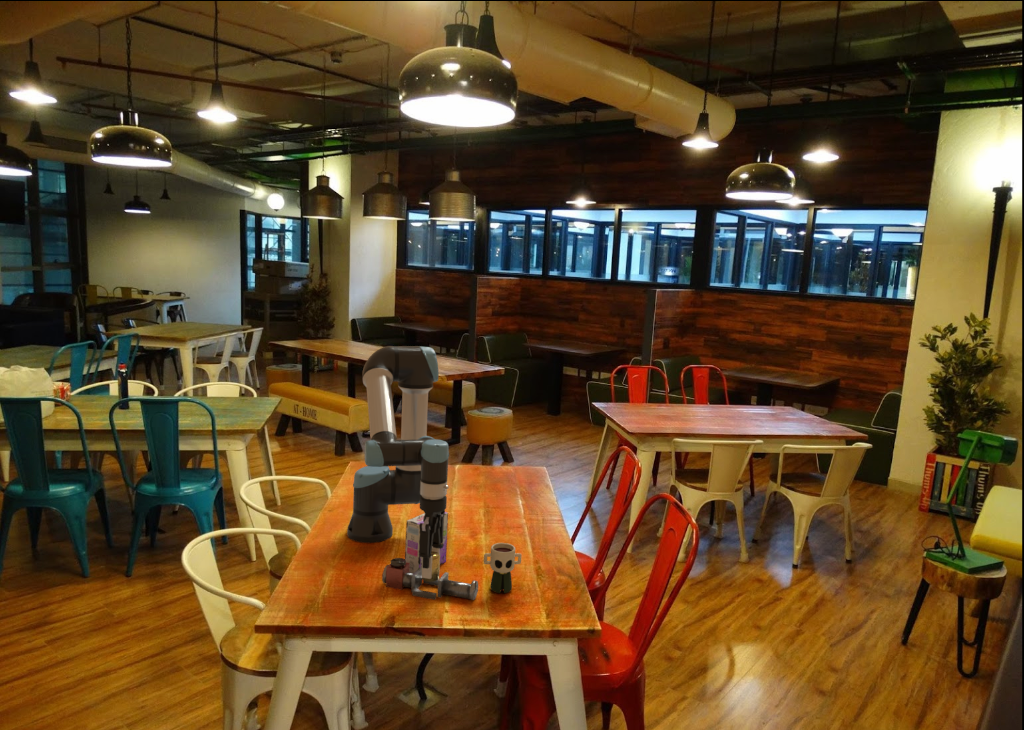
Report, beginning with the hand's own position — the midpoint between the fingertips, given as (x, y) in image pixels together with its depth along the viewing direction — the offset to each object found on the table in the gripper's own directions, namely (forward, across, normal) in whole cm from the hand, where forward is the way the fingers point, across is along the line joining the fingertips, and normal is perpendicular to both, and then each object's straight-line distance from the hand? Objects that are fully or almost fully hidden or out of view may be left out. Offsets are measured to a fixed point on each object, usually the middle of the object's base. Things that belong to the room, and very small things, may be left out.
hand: (430, 573), depth 200 cm
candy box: (+5, +14, +7) cm, 17 cm away
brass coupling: (+1, 0, 0) cm, 1 cm away
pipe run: (+5, 0, 0) cm, 5 cm away
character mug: (+6, +8, -19) cm, 21 cm away
